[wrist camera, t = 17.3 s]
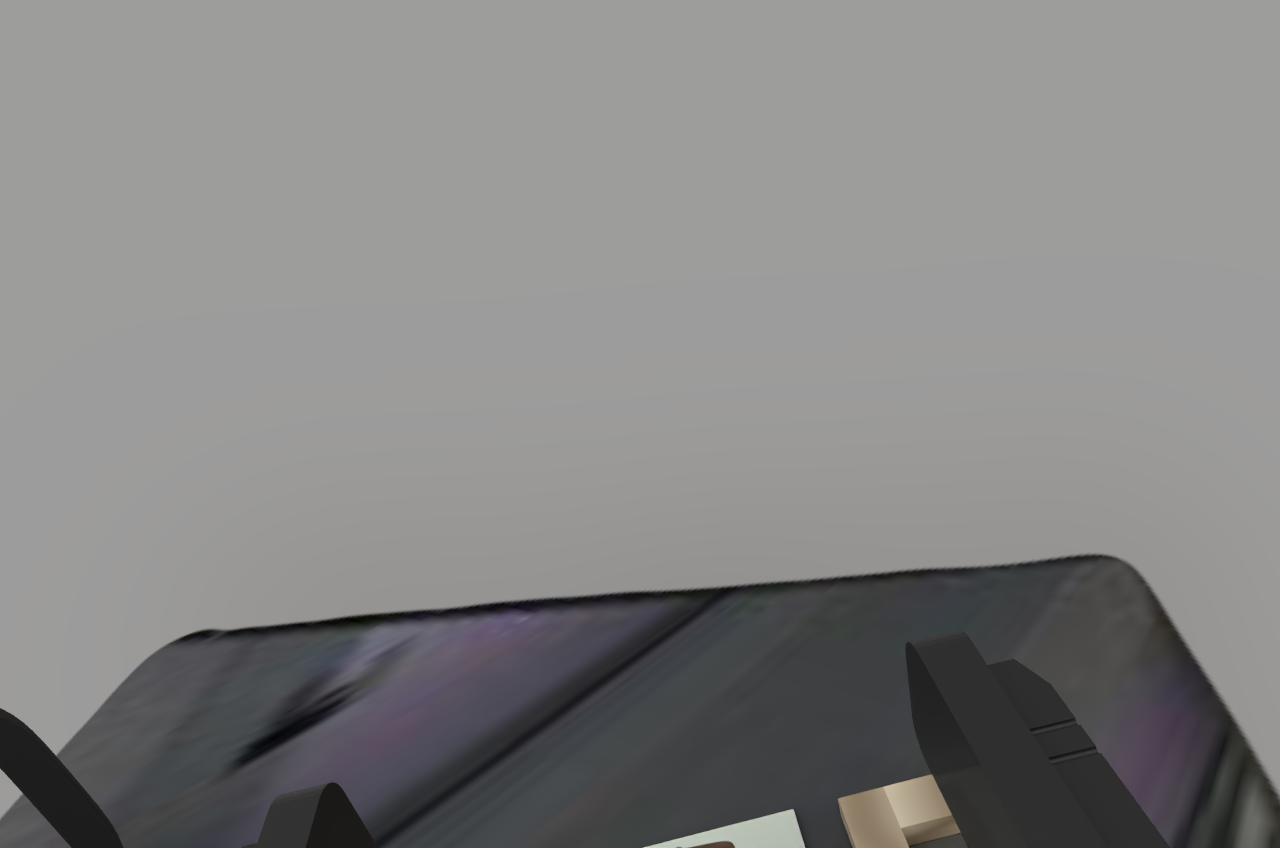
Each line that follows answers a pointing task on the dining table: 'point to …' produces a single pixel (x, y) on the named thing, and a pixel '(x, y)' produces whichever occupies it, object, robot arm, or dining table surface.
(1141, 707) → the dining table surface
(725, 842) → the tin
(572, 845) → the dining table surface
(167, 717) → the dining table surface
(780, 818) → the mat
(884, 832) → the slot holder
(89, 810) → the coffee press
